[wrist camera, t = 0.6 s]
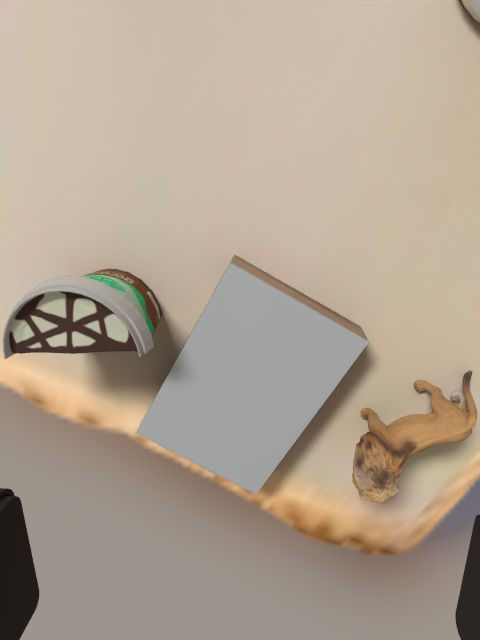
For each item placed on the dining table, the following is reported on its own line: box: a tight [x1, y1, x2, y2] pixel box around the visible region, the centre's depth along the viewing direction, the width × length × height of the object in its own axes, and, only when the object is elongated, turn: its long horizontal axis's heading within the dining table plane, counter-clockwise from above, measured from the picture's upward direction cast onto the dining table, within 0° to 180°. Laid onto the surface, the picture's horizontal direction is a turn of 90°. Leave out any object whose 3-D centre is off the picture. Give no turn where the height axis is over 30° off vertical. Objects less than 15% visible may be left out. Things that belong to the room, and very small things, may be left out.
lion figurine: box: [352, 371, 477, 503], centre depth 39 cm, size 15×5×9 cm, turn 131°
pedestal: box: [136, 255, 369, 494], centre depth 41 cm, size 20×14×4 cm
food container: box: [3, 269, 162, 359], centre depth 37 cm, size 12×6×10 cm, turn 93°
